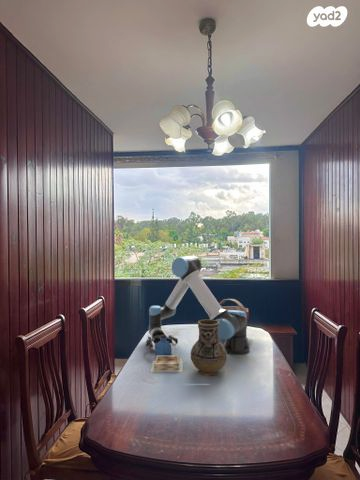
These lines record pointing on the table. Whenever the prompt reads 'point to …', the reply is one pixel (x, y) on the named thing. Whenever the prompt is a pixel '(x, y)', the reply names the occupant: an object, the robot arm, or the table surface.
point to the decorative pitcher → (208, 348)
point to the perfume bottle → (163, 346)
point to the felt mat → (168, 370)
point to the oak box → (166, 362)
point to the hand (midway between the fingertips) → (164, 346)
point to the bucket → (236, 308)
